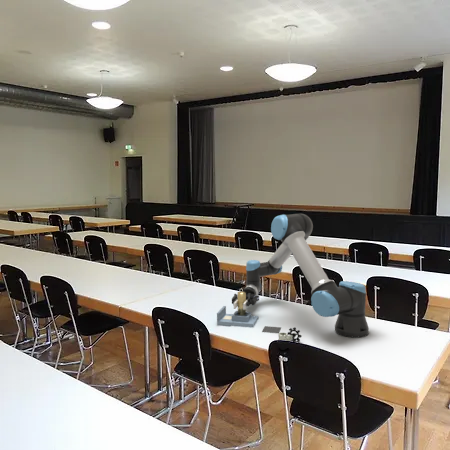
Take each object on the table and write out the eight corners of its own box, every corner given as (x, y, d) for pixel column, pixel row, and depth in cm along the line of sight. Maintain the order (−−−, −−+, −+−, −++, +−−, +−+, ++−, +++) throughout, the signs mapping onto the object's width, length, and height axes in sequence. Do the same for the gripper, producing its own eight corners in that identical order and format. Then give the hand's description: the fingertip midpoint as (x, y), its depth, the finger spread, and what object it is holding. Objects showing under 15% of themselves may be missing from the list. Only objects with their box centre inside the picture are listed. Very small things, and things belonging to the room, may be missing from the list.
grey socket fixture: (258, 320, 218) (258, 308, 217) (253, 328, 207) (253, 316, 206) (223, 317, 223) (223, 306, 222) (217, 325, 211) (216, 313, 211)
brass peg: (246, 313, 215) (246, 291, 214) (244, 315, 211) (244, 293, 210) (238, 312, 216) (238, 291, 215) (236, 315, 212) (236, 293, 211)
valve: (287, 352, 178) (301, 343, 188) (287, 337, 178) (301, 328, 187) (273, 348, 182) (288, 340, 192) (273, 333, 182) (288, 325, 191)
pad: (281, 328, 206) (281, 327, 206) (278, 334, 198) (278, 333, 198) (264, 326, 208) (264, 326, 208) (261, 332, 201) (261, 331, 200)
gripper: (265, 301, 228) (256, 315, 206) (233, 299, 233) (222, 312, 211) (265, 287, 228) (256, 300, 205) (233, 285, 232) (221, 297, 210)
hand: (239, 306), depth 208 cm, fingers closed on brass peg, 4 cm apart
